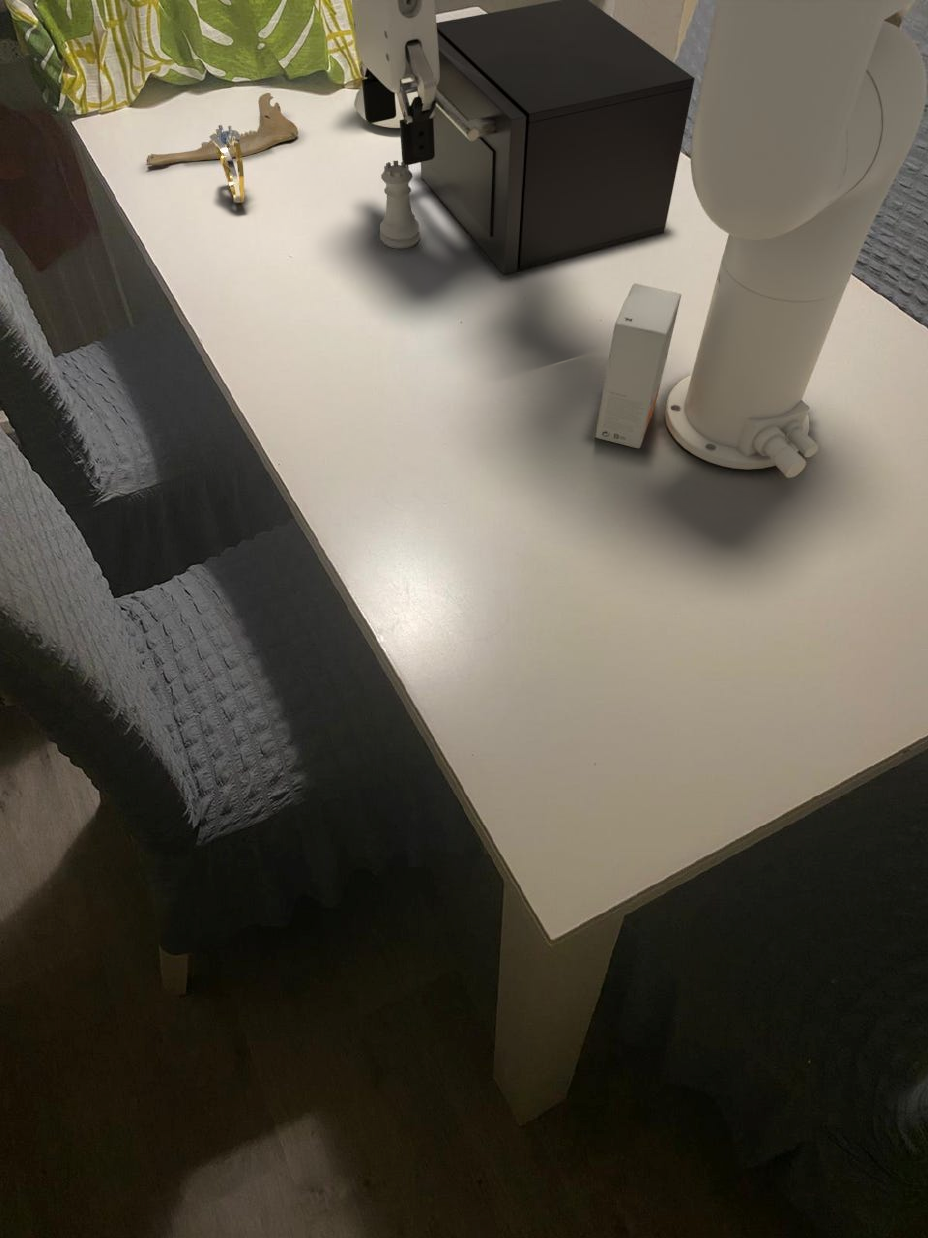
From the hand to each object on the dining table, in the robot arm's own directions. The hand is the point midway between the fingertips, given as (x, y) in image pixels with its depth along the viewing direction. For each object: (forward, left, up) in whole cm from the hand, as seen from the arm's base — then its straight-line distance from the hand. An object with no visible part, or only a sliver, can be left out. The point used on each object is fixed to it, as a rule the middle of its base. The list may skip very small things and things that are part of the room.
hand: (399, 139), depth 89 cm
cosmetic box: (-35, -7, -11) cm, 38 cm away
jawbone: (+31, +12, -11) cm, 35 cm away
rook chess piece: (0, 0, -11) cm, 11 cm away
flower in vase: (+27, -10, -11) cm, 30 cm away
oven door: (+1, -6, -11) cm, 12 cm away
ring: (+16, +14, -11) cm, 24 cm away
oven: (+1, -18, -11) cm, 21 cm away
